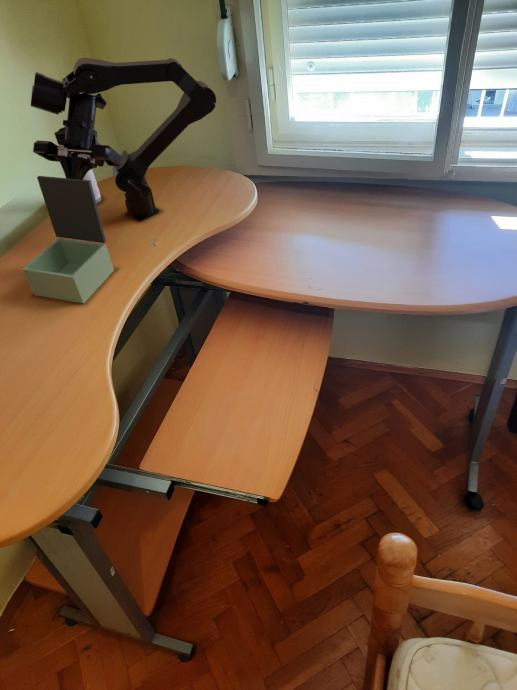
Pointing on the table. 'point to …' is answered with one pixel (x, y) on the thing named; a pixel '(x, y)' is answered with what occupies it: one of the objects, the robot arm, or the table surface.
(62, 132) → the travel mug
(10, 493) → the table surface
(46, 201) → the dark flat rectangular panel
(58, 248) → the sage green storage tray
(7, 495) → the table surface
